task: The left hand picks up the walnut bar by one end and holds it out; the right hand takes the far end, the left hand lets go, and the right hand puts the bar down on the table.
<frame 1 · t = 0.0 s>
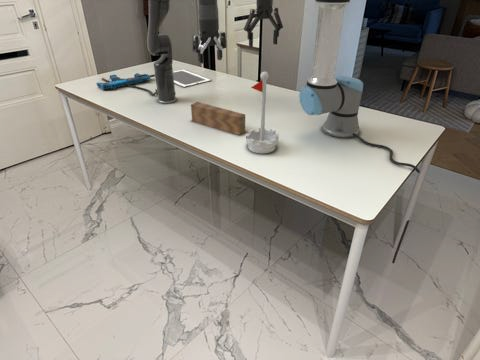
left hand: (210, 61, 136), 29 cm above the table, tool pointing down, fingers open, 8 cm apart
right hand: (263, 45, 167), 28 cm above the table, tool pointing down, fingers open, 13 cm apart
flag stand: (261, 147, 137), on the table
bar: (217, 126, 154), on the table
tablet: (183, 78, 216), on the table
submachine gun: (125, 82, 210), on the table
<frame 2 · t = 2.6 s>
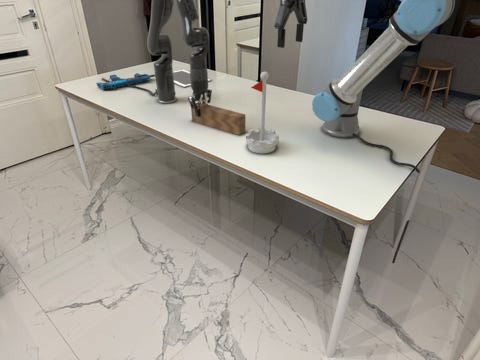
left hand: (201, 114, 157), 4 cm above the table, tool pointing down, fingers closed on bar, 4 cm apart
right hand: (290, 44, 133), 36 cm above the table, tool pointing down, fingers open, 13 cm apart
bar: (217, 126, 154), on the table, touching left hand
everything else where it was.
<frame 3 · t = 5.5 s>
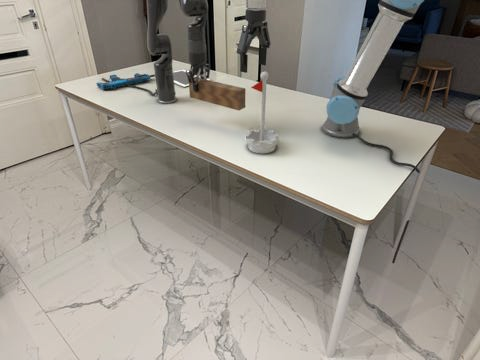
left hand: (199, 90, 151), 15 cm above the table, tool pointing down, fingers closed on bar, 4 cm apart
right hand: (253, 68, 135), 27 cm above the table, tool pointing down, fingers open, 13 cm apart
bar: (216, 102, 148), point 11 cm above the table, touching left hand
everything else where it was.
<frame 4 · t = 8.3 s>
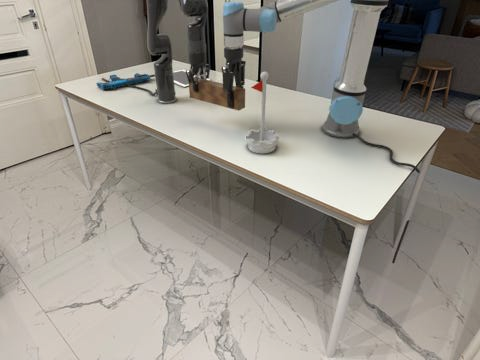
left hand: (199, 90, 151), 15 cm above the table, tool pointing down, fingers closed on bar, 4 cm apart
right hand: (234, 105, 143), 12 cm above the table, tool pointing down, fingers closed on bar, 4 cm apart
bar: (216, 102, 148), point 11 cm above the table, touching right hand, left hand
everything else where it was.
when the left hand's fingers open (15 cm above the table, at t = 8.9 s): bar stays where it is, held by the right hand.
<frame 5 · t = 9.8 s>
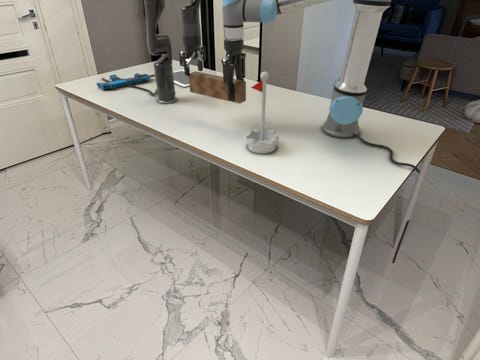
left hand: (194, 73, 148), 22 cm above the table, tool pointing down, fingers open, 8 cm apart
right hand: (235, 98, 141), 15 cm above the table, tool pointing down, fingers closed on bar, 4 cm apart
bar: (217, 96, 146), point 14 cm above the table, touching right hand
everything else where it was.
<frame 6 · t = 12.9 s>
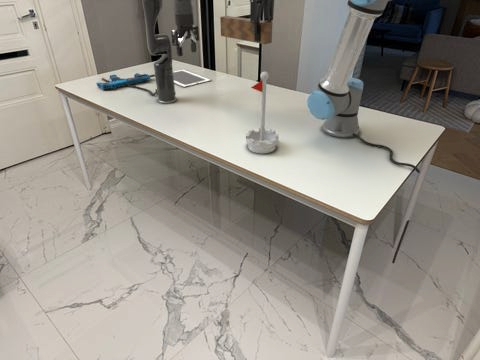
left hand: (187, 53, 145), 30 cm above the table, tool pointing down, fingers open, 8 cm apart
right hand: (261, 40, 146), 34 cm above the table, tool pointing down, fingers closed on bar, 4 cm apart
bar: (245, 39, 152), point 34 cm above the table, touching right hand
everything else where it was.
when the right hand's fingers open (2 cm above the table, at t = 17.6 s): bar drops 1 cm, on the table.
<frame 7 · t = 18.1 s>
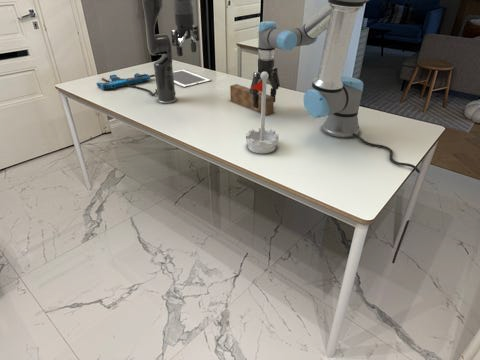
left hand: (187, 53, 145), 30 cm above the table, tool pointing down, fingers open, 8 cm apart
right hand: (264, 104, 167), 4 cm above the table, tool pointing down, fingers open, 11 cm apart
bar: (250, 106, 175), on the table
everything else where it was.
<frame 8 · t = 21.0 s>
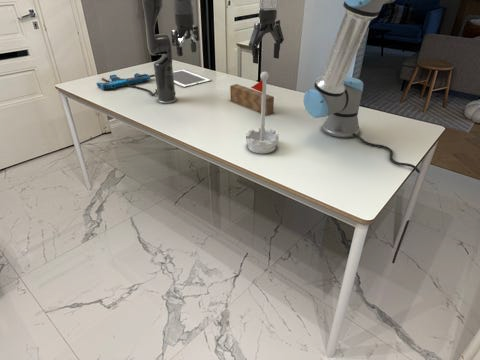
left hand: (187, 53, 145), 30 cm above the table, tool pointing down, fingers open, 8 cm apart
right hand: (266, 60, 155), 25 cm above the table, tool pointing down, fingers open, 13 cm apart
nothing on the table moved.
at the end: bar inside the target area (9.5 cm from its centre), on the table; the left hand is holding nothing; the right hand is holding nothing; bar at rest at the end (0.0 cm/s) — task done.
